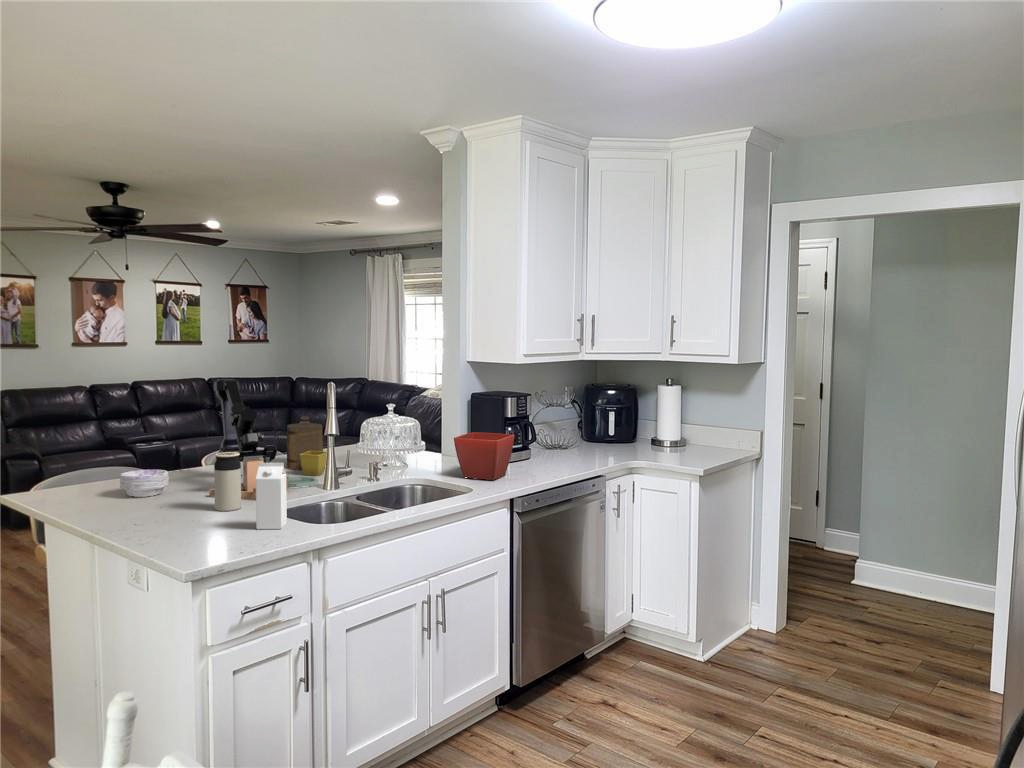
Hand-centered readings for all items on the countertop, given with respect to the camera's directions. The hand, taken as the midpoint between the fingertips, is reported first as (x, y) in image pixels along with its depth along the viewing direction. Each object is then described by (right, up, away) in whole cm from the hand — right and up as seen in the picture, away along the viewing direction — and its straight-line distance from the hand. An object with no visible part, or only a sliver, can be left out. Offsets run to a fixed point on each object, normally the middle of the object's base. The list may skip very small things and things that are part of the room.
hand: (253, 473), depth 259 cm
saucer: (+11, -6, +18) cm, 22 cm away
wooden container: (+3, -4, +54) cm, 54 cm away
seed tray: (-8, -7, -1) cm, 11 cm away
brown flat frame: (-2, -7, +3) cm, 8 cm away
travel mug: (-1, -9, -22) cm, 23 cm away
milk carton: (+20, -11, -42) cm, 48 cm away
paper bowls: (-37, -8, -2) cm, 38 cm away
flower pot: (+11, -5, +37) cm, 39 cm away
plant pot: (+80, -6, +36) cm, 88 cm away
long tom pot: (0, -7, +1) cm, 8 cm away
